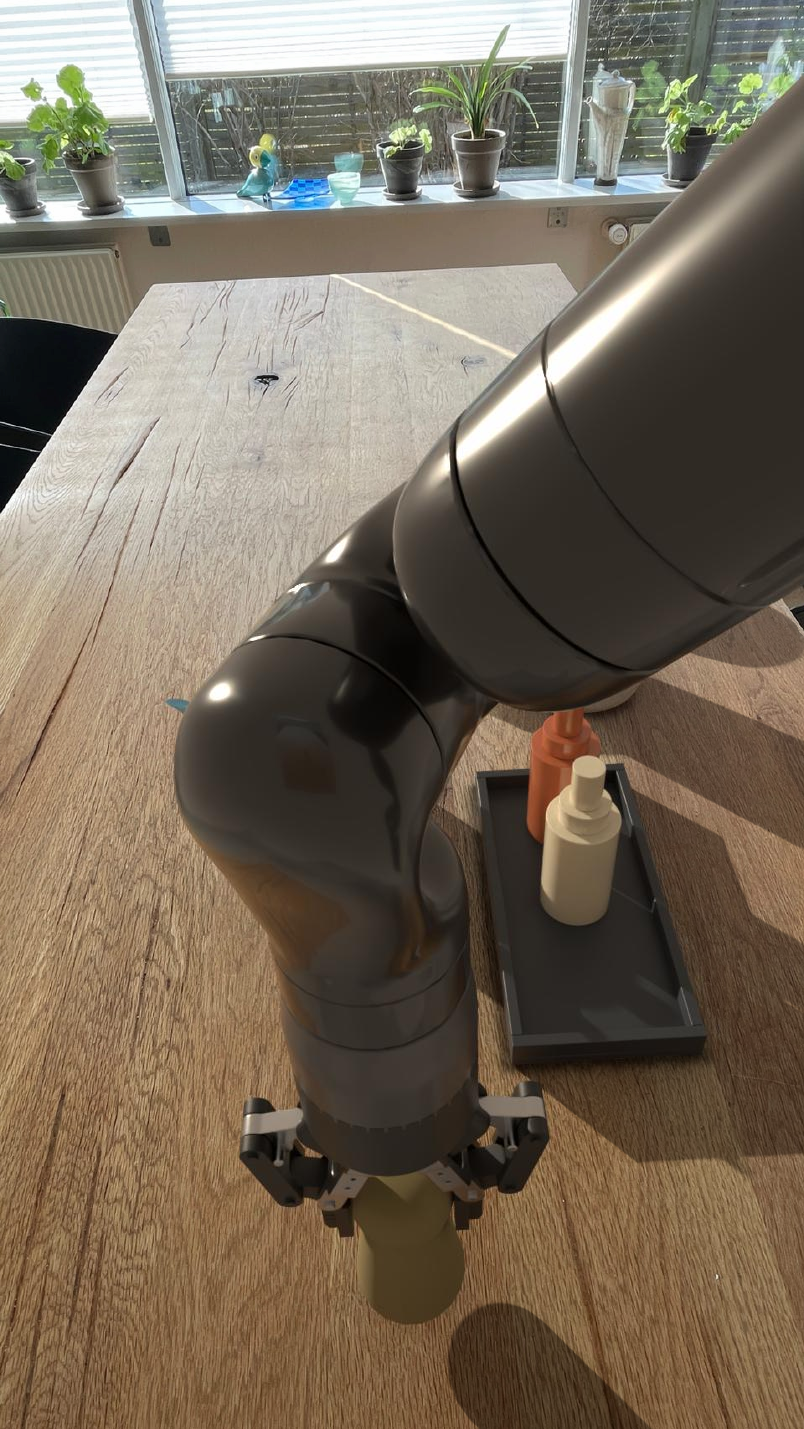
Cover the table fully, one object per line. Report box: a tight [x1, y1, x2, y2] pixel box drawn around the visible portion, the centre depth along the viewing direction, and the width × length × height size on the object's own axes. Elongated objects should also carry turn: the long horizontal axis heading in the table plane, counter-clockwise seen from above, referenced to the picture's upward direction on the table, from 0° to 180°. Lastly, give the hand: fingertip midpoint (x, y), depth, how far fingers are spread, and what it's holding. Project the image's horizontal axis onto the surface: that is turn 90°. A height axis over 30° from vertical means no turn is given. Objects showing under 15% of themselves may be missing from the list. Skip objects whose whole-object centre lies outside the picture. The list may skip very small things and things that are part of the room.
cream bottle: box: [540, 756, 622, 926], centre depth 67 cm, size 5×5×14 cm
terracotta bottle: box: [526, 707, 602, 845], centre depth 73 cm, size 5×5×14 cm
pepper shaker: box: [349, 1172, 466, 1325], centre depth 49 cm, size 6×6×11 cm
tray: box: [474, 762, 708, 1066], centre depth 72 cm, size 26×13×2 cm, turn 2°
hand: (404, 1213), depth 48 cm, fingers closed on pepper shaker, 5 cm apart
